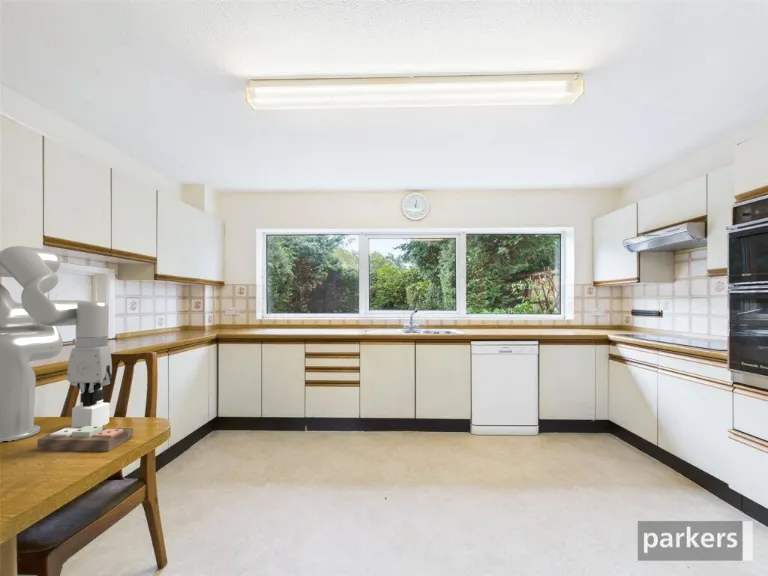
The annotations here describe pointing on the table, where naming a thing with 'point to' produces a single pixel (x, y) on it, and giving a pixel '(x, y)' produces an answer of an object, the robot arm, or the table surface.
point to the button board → (84, 442)
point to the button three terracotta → (109, 433)
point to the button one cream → (64, 432)
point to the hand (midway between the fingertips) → (89, 405)
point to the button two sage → (87, 431)
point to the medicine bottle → (91, 413)
